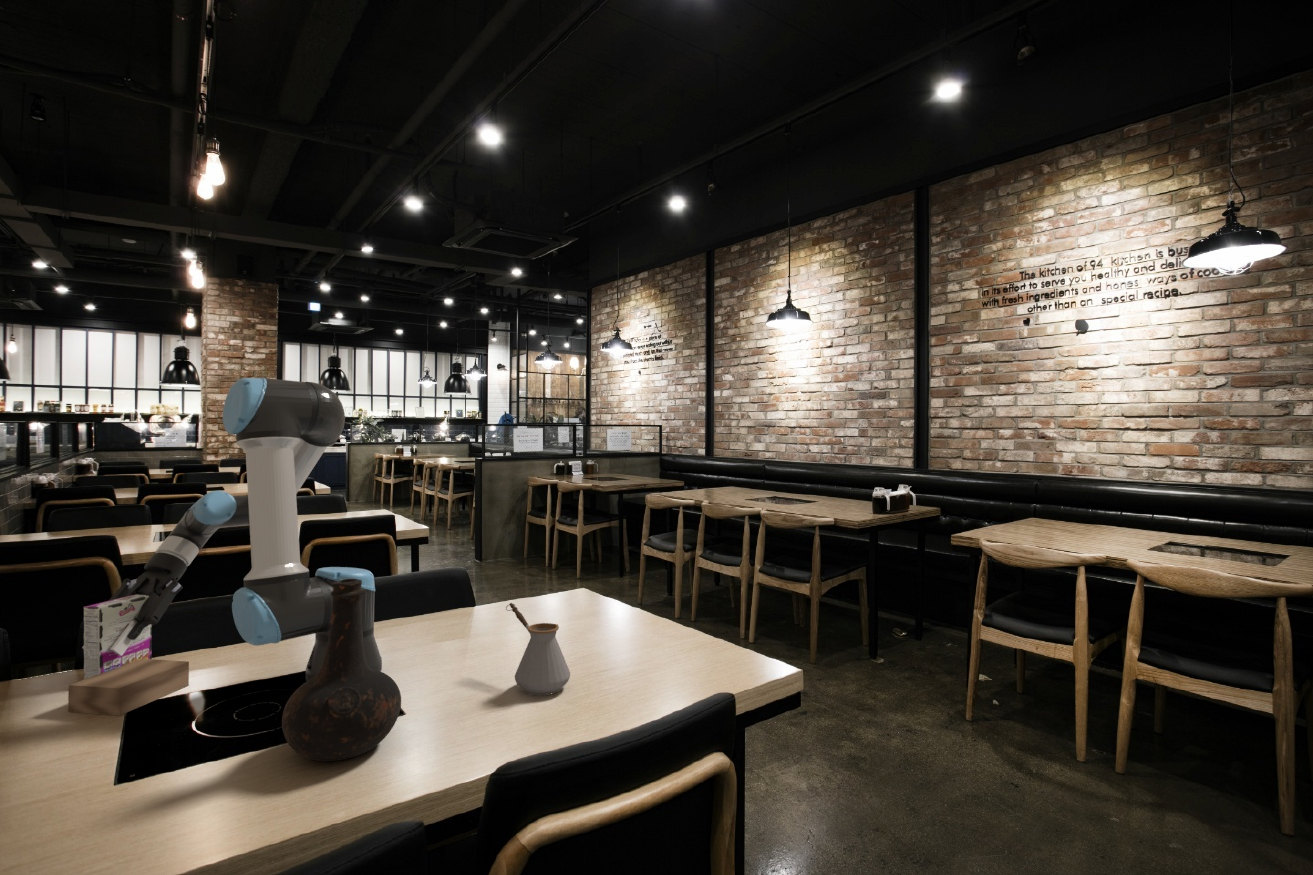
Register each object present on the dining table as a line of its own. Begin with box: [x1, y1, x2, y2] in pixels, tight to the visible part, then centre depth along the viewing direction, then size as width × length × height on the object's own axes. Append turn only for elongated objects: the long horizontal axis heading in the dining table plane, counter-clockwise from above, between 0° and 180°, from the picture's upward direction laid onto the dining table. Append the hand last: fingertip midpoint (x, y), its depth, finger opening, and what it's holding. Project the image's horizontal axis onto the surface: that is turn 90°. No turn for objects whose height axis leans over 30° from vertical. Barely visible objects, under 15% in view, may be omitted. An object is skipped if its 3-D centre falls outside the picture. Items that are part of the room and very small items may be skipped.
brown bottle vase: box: [281, 579, 402, 762], centre depth 108 cm, size 18×18×28 cm
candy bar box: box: [83, 593, 153, 680], centre depth 140 cm, size 11×5×16 cm, turn 168°
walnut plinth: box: [67, 658, 190, 716], centre depth 128 cm, size 11×15×5 cm
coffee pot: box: [505, 602, 571, 697], centre depth 139 cm, size 21×12×15 cm, turn 39°
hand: (102, 651), depth 136 cm, fingers open, 6 cm apart
